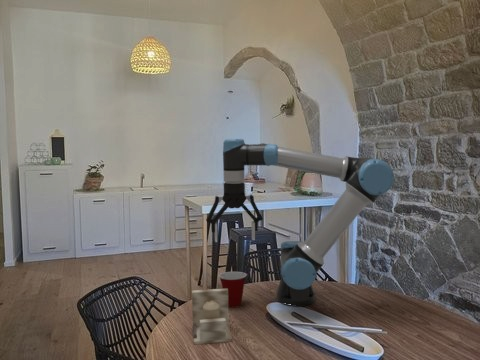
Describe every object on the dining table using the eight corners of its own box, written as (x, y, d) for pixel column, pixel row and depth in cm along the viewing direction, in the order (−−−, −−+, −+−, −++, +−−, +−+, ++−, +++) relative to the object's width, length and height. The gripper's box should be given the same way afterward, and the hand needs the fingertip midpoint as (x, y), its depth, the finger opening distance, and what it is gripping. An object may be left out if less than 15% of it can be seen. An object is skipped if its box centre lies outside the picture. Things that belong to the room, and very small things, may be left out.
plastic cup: (244, 297, 165) (243, 268, 164) (250, 308, 154) (249, 277, 153) (217, 300, 163) (216, 270, 162) (221, 311, 152) (220, 279, 151)
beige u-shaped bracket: (227, 324, 141) (227, 288, 140) (232, 341, 129) (231, 301, 128) (192, 326, 139) (192, 290, 138) (193, 344, 128) (193, 304, 126)
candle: (201, 334, 132) (200, 304, 131) (206, 327, 137) (205, 298, 136) (217, 336, 131) (216, 306, 130) (222, 328, 136) (221, 299, 135)
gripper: (266, 180, 152) (266, 236, 154) (198, 182, 149) (199, 239, 151) (270, 182, 145) (270, 241, 147) (199, 184, 141) (200, 244, 143)
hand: (234, 240), depth 149 cm, fingers open, 13 cm apart
